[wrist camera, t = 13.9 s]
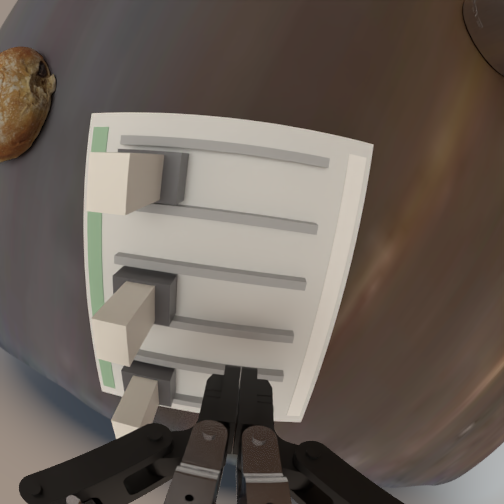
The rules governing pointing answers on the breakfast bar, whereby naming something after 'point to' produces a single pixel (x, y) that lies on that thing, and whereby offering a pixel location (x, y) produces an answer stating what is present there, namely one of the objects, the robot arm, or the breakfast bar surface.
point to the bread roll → (22, 99)
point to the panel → (235, 249)
